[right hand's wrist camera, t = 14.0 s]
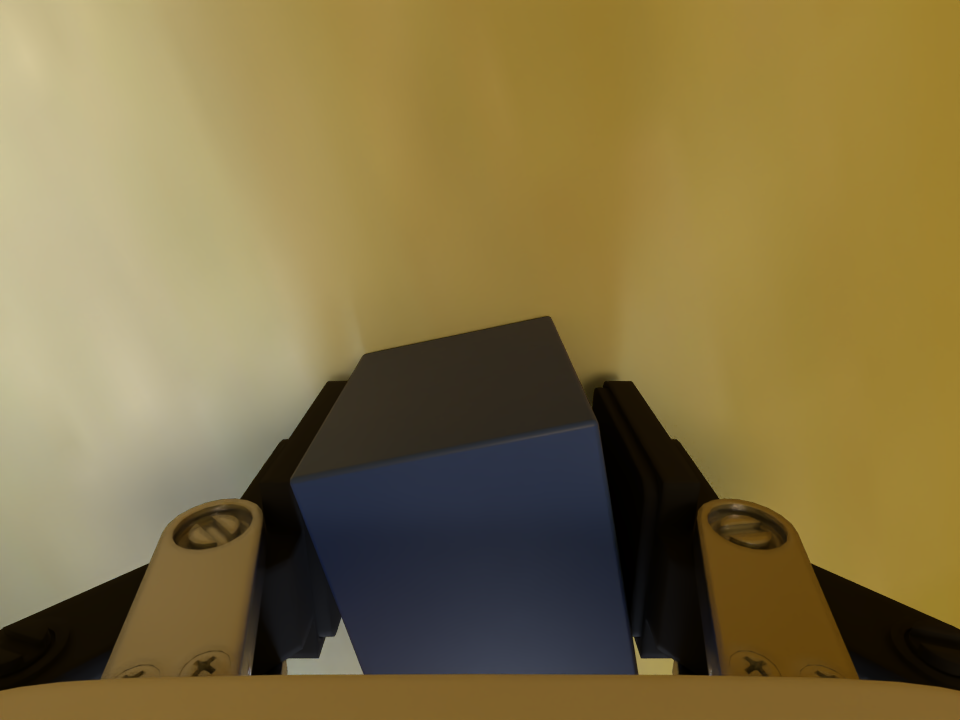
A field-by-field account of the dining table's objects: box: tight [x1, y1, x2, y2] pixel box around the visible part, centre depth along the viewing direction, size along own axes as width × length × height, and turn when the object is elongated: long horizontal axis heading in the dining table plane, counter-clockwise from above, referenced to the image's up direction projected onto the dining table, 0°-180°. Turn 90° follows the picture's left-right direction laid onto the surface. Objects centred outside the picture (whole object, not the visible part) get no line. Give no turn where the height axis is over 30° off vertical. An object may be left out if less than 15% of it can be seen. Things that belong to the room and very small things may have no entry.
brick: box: [290, 317, 638, 675], centre depth 10 cm, size 5×4×5 cm
